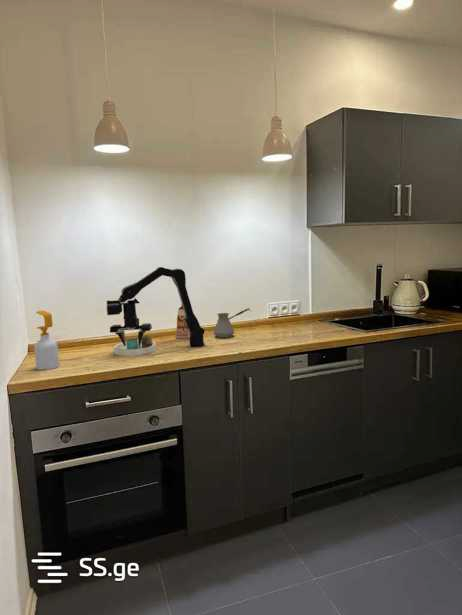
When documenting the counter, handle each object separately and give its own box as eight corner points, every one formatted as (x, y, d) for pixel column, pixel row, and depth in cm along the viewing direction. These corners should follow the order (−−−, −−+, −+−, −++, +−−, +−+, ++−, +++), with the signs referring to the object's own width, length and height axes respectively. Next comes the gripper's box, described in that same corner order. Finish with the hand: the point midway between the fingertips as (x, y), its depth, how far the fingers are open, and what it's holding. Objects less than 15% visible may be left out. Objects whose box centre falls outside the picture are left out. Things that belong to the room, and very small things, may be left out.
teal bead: (139, 350, 195) (138, 338, 195) (136, 352, 190) (135, 340, 190) (128, 350, 195) (128, 338, 195) (126, 353, 190) (125, 340, 190)
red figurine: (190, 341, 215) (188, 304, 212) (174, 341, 217) (172, 304, 214) (195, 337, 224) (193, 301, 221) (180, 337, 226) (177, 302, 223)
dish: (159, 345, 209) (159, 339, 208) (151, 354, 189) (151, 348, 188) (120, 346, 209) (120, 341, 208) (109, 356, 189) (108, 350, 189)
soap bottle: (46, 364, 180) (41, 309, 177) (64, 364, 177) (58, 309, 174) (31, 369, 171) (25, 312, 168) (49, 370, 169) (43, 312, 165)
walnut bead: (153, 347, 201) (152, 335, 200) (151, 349, 196) (150, 337, 195) (143, 347, 201) (142, 335, 200) (140, 349, 196) (139, 337, 195)
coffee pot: (215, 339, 216) (214, 312, 214) (212, 335, 227) (210, 309, 225) (254, 336, 221) (253, 309, 219) (248, 332, 232) (247, 306, 230)
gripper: (152, 310, 198) (155, 341, 200) (115, 311, 199) (117, 342, 201) (148, 313, 187) (150, 346, 189) (108, 315, 188) (110, 348, 190)
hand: (132, 345), depth 193 cm, fingers open, 7 cm apart
